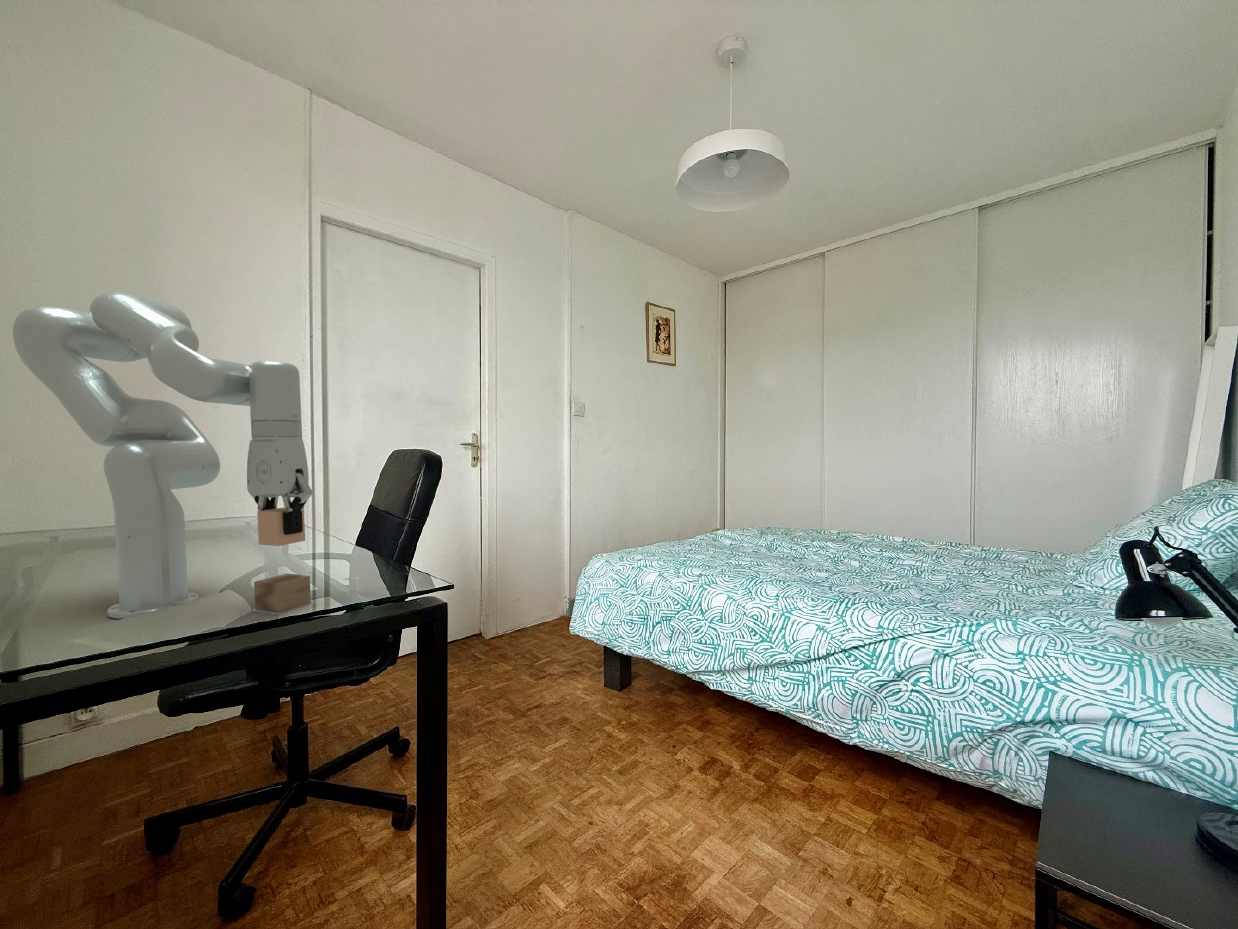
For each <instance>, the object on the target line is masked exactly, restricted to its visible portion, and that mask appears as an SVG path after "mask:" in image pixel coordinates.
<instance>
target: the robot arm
mask: <svg viewBox="0 0 1238 929" xmlns="http://www.w3.org/2000/svg"><path fill="white" fill-rule="evenodd" d="M12 336H13V337H12V338H13V344H14V347H15V349H16V352H17V355H18V356H19V358H20V360H21V361H22V362H23V364H24V365H25V366H26V367H27V369H28V370H29V371H30V372H31V373H32V374H33V375H34V376H35V377H36V378H37V379H38V380H39V381H40V382H42V384H43V385H45V387H46V388H47V389H49V390H50V391H51V392H52V393H53V395H54V396H55V397H56V398H57V399H58V401H59V402H60V404H61V405H62V406H63V407H64V408H65V410H66V411H67V412H68V414H69V415H70V416H71V417H72V419H73V421H75V422H76V423H77V425H78V426H79V427H80V428H81V430H82V431H83V432H84V434H86V436H87V437H88V438H89V439H90V440H91V441H93V443H95V444H98V445H100V446H104V447H112V448H111V449H110V450H109V451H108V452H107V453H106V455H105V457H104V460H103V472H104V476H105V479H106V482H107V484H108V485H107V486H108V488H109V490H110V495H111V500H112V505H113V512H114V513H113V515H114V529H115V530H114V531H115V546H116V547H115V549H116V564H117V565H116V566H117V567H116V568H117V583H118V588H117V589H116V591H115V592H116V594H117V595H118V603H116V604H113V605H112V606H110V607H109V608H108V609H107V616H108V617H110V618H112V619H123V620H124V619H127V618H130V617H134V616H138V615H142V614H146V613H149V612H153V611H157V610H158V611H159V610H161V609H165V608H168V607H172V606H176V605H180V604H183V603H188V602H191V601H195V600H199V599H200V598H199V593H196V592H191V591H189V586H188V584H189V583H188V567H187V566H188V565H187V563H188V562H187V560H188V559H187V544H186V540H187V539H186V522H185V521H186V520H185V512H184V509H183V506H182V504H181V502H180V501H179V499H178V498H177V497H176V496H175V495H174V493H173V492H172V490H179V489H188V488H197V487H201V486H202V487H203V486H205V485H208V484H210V483H212V482H213V481H215V479H216V478H217V477H218V476H219V474H220V472H221V461H220V457H219V454H218V453H217V451H216V449H215V447H213V446H214V445H213V444H211V442H210V441H209V440H208V438H207V437H206V436H205V434H204V433H203V432H202V431H201V430H200V429H199V427H198V426H197V425H196V423H195V422H194V421H193V420H192V419H191V418H190V416H189V415H188V414H187V413H186V412H185V411H184V410H183V409H182V408H181V407H179V406H177V405H175V404H174V403H171V402H168V401H165V400H159V399H148V398H139V397H134V396H132V395H129V394H128V393H126V392H125V391H124V390H123V389H122V387H120V385H119V383H117V381H116V380H115V379H114V378H113V376H111V375H110V374H109V372H107V371H106V370H104V369H103V368H101V367H100V366H98V365H96V364H95V363H93V362H92V361H90V360H88V359H87V358H89V359H97V360H103V361H111V362H119V363H130V362H136V361H141V360H143V359H147V362H148V364H149V368H150V370H151V372H152V373H153V375H154V376H155V377H156V378H157V379H158V380H159V381H160V382H161V383H163V384H164V385H166V386H168V387H170V388H171V389H172V390H174V391H176V392H177V393H179V394H181V395H183V396H185V397H187V398H189V399H191V400H195V401H198V402H203V403H212V404H213V403H214V404H225V405H233V406H246V407H249V408H250V410H249V412H250V413H249V414H250V428H251V429H250V430H251V440H249V443H248V444H249V445H248V449H247V450H248V451H247V461H246V465H247V467H246V487H247V488H246V489H247V492H248V493H249V495H250V496H251V497H252V498H253V499H254V502H255V503H256V504H257V511H261V510H269V509H276V508H278V502H279V497H281V498H282V499H281V500H282V502H283V508H284V507H285V511H286V512H283V530H284V534H285V535H290V534H295V533H301V532H302V531H303V526H302V510H304V511H305V505H306V503H307V502H308V500H309V499H310V497H312V495H313V493H314V491H313V490H312V488H311V486H310V485H309V484H310V482H309V478H310V477H309V468H308V467H309V466H308V458H307V453H306V448H305V443H304V440H303V425H302V423H303V422H302V403H301V401H302V400H301V382H300V381H301V380H300V379H301V377H300V370H299V369H298V367H297V366H295V364H292V363H289V362H284V361H274V360H273V361H272V360H262V361H261V360H260V361H255V362H253V363H251V364H244V363H239V362H236V361H230V360H223V359H217V358H211V357H208V356H204V355H202V354H200V353H198V350H199V348H200V347H199V346H200V341H199V337H198V335H197V333H196V332H195V331H194V330H193V329H192V324H191V321H190V320H189V318H188V316H187V315H186V314H185V313H184V312H183V311H182V310H181V309H179V308H178V307H177V306H174V305H172V304H168V303H164V302H161V301H157V300H153V299H151V298H150V299H149V298H146V297H144V296H143V297H141V296H139V295H134V294H132V293H131V294H130V293H126V292H125V293H124V292H116V291H115V292H114V291H113V292H107V293H102V294H100V295H99V296H97V297H95V298H94V299H93V300H92V302H91V303H90V306H89V312H86V311H82V310H79V309H72V308H68V307H61V306H53V305H51V306H50V305H43V306H41V305H39V306H33V307H29V308H26V309H24V310H21V312H20V313H18V314H17V315H16V318H15V319H14V322H13V327H12ZM291 499H292V500H291Z"/></svg>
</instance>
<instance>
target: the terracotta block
mask: <svg viewBox="0 0 1238 929" xmlns="http://www.w3.org/2000/svg"><path fill="white" fill-rule="evenodd" d="M256 511H257V512H256V514H257V515H256V517H257V530H258V531H257V532H258V535H257V536H258V545H259V546H260V545H261V546H273V547H280V546H286V545H290V544H295V543H301V542H305V541H306V528H305V527H306V526H305V525H306V524H305V509H304V510H302V526H303V531H302V532H301V533H295V534H290V535H285V534H284V530H283V512H286V511H285V507H284V506H283V507H279V508H278V507H277V508H276V509H269V510H261V511H259V510H256Z"/></svg>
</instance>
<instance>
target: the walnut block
mask: <svg viewBox="0 0 1238 929" xmlns="http://www.w3.org/2000/svg"><path fill="white" fill-rule="evenodd" d="M253 582H254V583H253V584H254V585H253V586H254V602H255V603H254V606H255V607H254V609H256V610H262V611H269V612H275V613H281V612H284V611H287V610H290V609H293V608H296V607H299V606H302V605H305V604H308V603H311V602H312V601H311V600H312V599H311V575H304V574H296V573H295V574H294V573H282V574H279V575H275V576H270V577H268V578H263V579H260V580H256V581H253Z"/></svg>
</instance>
